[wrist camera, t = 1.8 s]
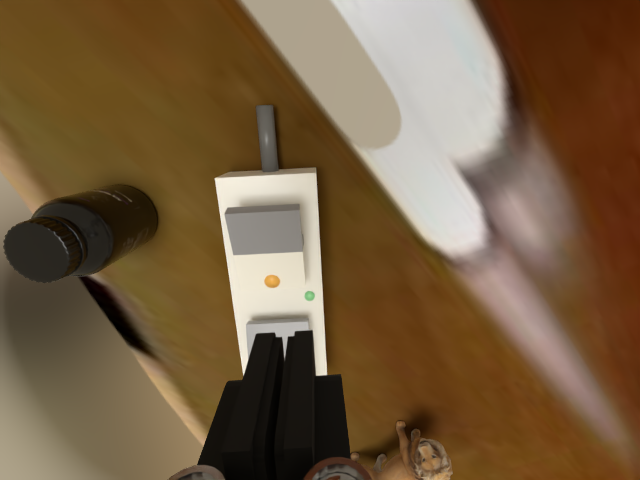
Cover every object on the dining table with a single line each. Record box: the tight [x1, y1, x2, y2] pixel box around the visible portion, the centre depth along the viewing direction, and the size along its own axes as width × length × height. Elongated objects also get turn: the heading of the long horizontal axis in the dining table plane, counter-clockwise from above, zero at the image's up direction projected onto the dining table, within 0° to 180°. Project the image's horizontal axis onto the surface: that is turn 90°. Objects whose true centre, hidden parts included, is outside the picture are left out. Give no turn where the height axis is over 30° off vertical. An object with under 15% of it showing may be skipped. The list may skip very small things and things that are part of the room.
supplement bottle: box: [3, 185, 157, 283], centre depth 30 cm, size 7×7×12 cm
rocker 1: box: [224, 204, 306, 291], centre depth 30 cm, size 6×8×2 cm
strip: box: [215, 105, 327, 376], centre depth 34 cm, size 9×30×6 cm, turn 3°
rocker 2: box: [246, 318, 309, 359], centre depth 33 cm, size 6×8×2 cm
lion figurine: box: [351, 421, 453, 480], centre depth 41 cm, size 15×5×9 cm, turn 140°
